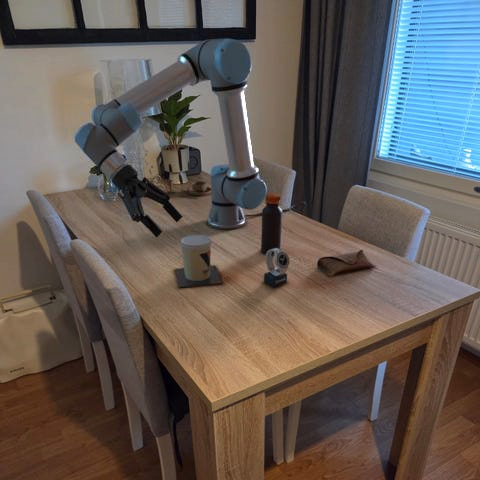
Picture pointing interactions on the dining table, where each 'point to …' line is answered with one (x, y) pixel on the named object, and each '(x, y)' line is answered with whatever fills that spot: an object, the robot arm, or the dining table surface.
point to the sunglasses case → (344, 263)
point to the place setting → (194, 189)
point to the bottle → (271, 223)
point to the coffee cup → (196, 256)
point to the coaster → (185, 282)
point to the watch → (278, 275)
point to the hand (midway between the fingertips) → (170, 226)
